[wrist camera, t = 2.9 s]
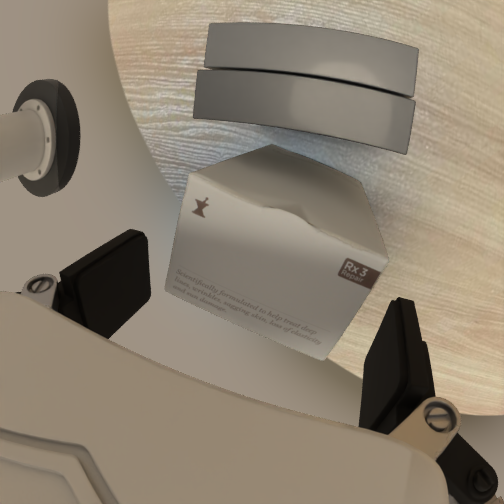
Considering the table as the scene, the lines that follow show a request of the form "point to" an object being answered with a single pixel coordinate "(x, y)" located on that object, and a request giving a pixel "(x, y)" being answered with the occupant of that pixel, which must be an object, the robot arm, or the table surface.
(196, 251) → the cosmetic box
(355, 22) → the table surface
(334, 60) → the grey box
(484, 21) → the table surface
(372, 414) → the robot arm
